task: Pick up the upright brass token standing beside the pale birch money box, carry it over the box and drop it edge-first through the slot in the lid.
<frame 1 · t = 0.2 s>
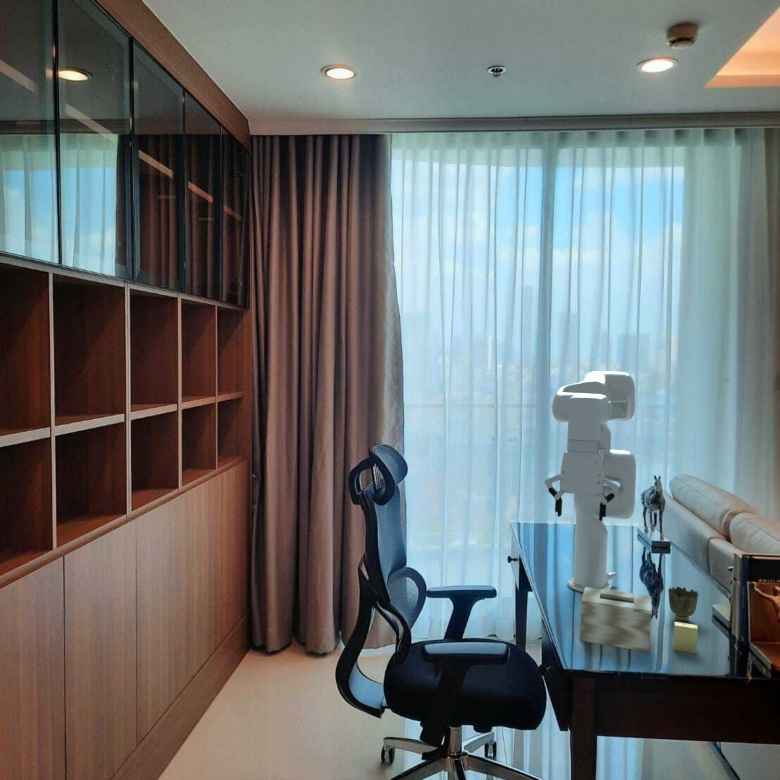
hand: (580, 517, 163), 31 cm above the table, tool pointing down, fingers open, 9 cm apart
money box: (614, 637, 168), on the table
cup: (681, 621, 182), on the table
brass token: (684, 649, 163), on the table
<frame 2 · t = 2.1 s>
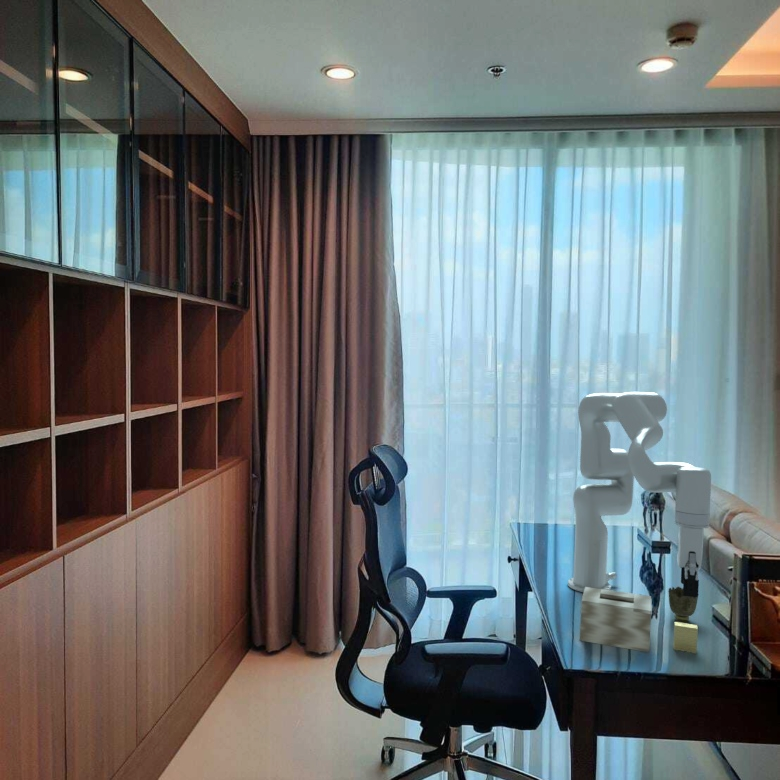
hand: (689, 589, 162), 15 cm above the table, tool pointing down, fingers open, 9 cm apart
nothing on the table moved.
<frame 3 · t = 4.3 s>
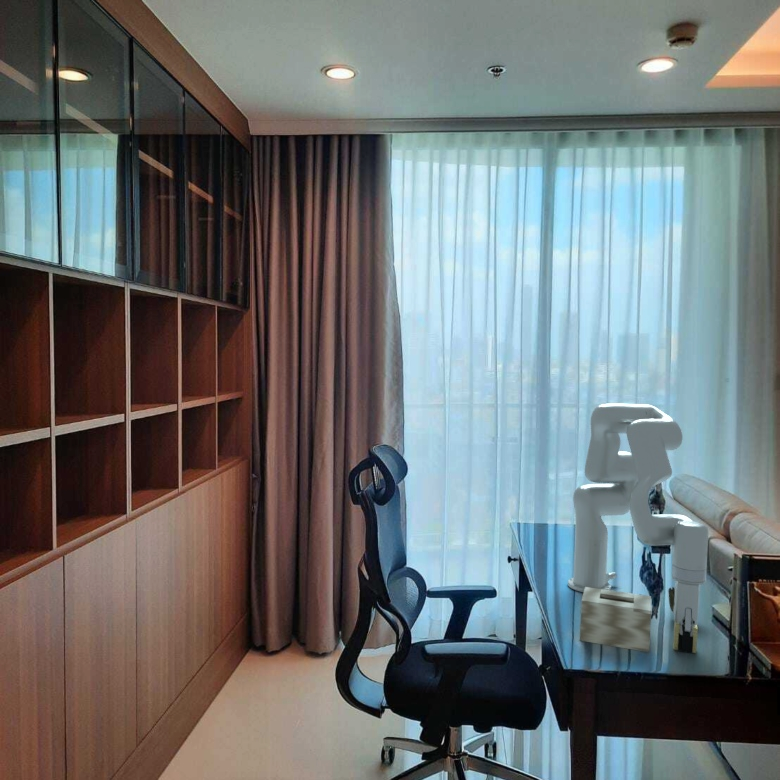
hand: (684, 648, 163), 0 cm above the table, tool pointing down, fingers closed on brass token, 2 cm apart
brass token: (684, 649, 163), on the table, touching gripper
everything else where it was.
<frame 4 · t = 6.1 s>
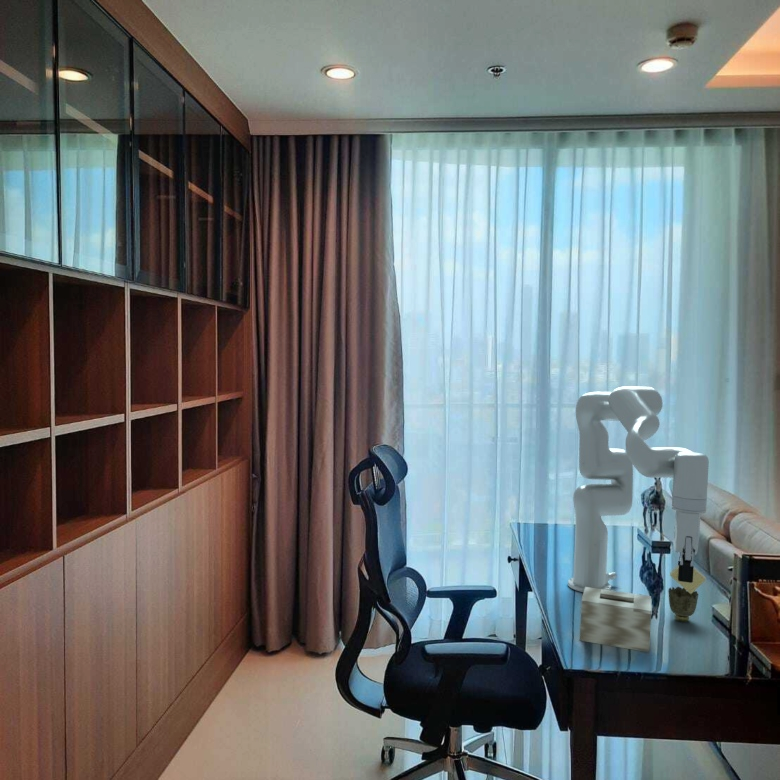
hand: (684, 579, 162), 17 cm above the table, tool pointing down, fingers closed on brass token
brass token: (698, 585, 161), point 16 cm above the table, tilted 51°, touching gripper
everything else where it was.
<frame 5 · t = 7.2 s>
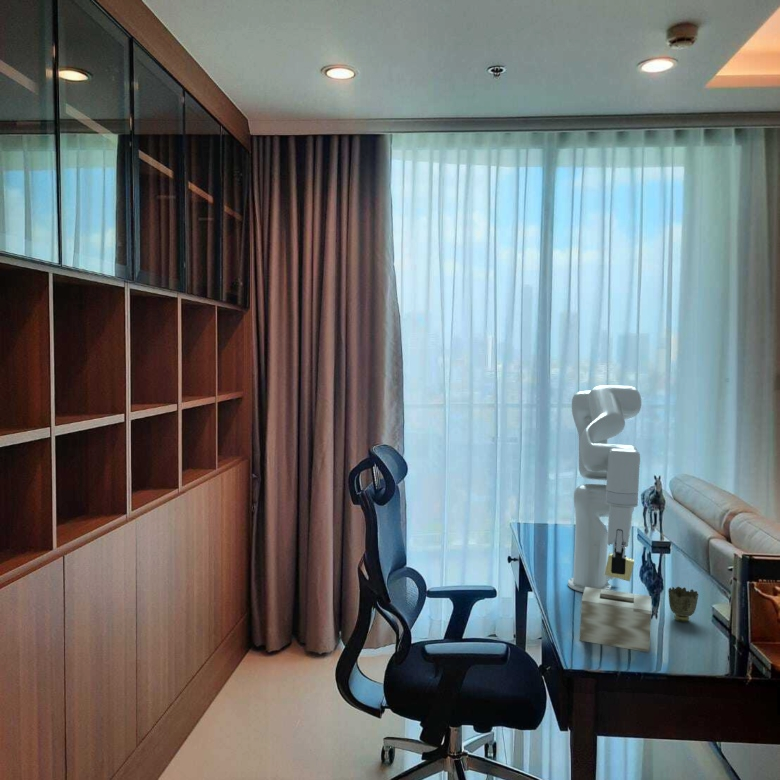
hand: (618, 571, 168), 17 cm above the table, tool pointing down, fingers closed on brass token
brass token: (632, 570, 166), point 17 cm above the table, tilted 81°, touching gripper
everything else where it was.
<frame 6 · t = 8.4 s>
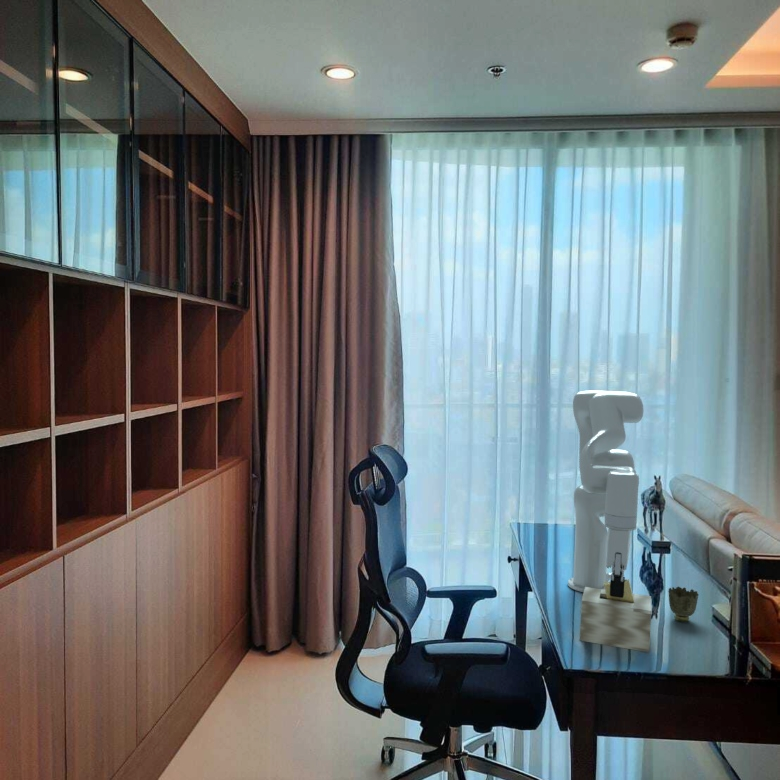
hand: (616, 593, 168), 11 cm above the table, tool pointing down, fingers closed
brass token: (631, 590, 167), point 12 cm above the table, tilted 106°
everything else where it was.
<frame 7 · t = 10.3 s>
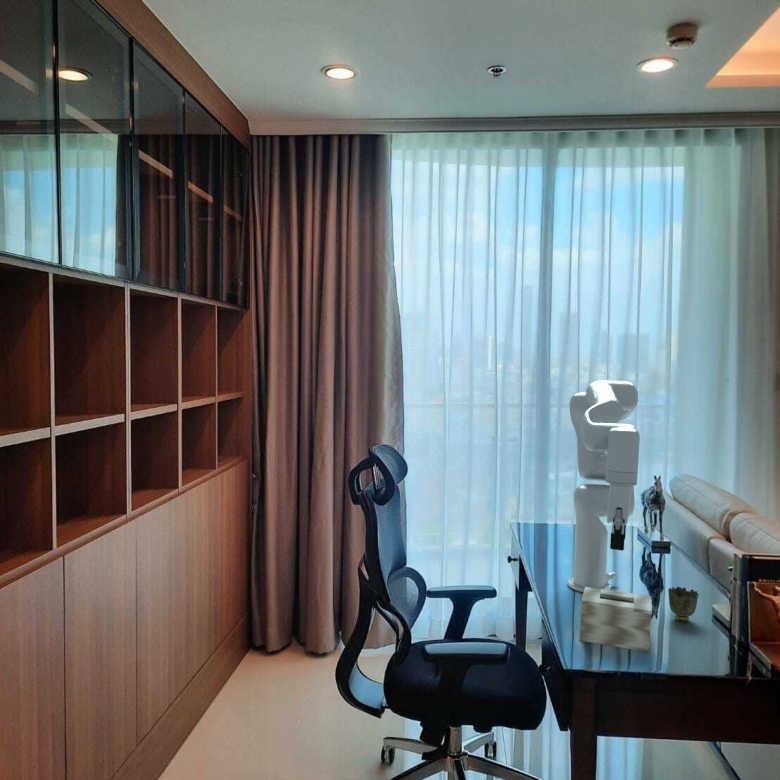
hand: (617, 544, 170), 23 cm above the table, tool pointing down, fingers open, 9 cm apart
brass token: (620, 634, 166), point 2 cm above the table, tilted 90°, touching money box
everything else where it was.
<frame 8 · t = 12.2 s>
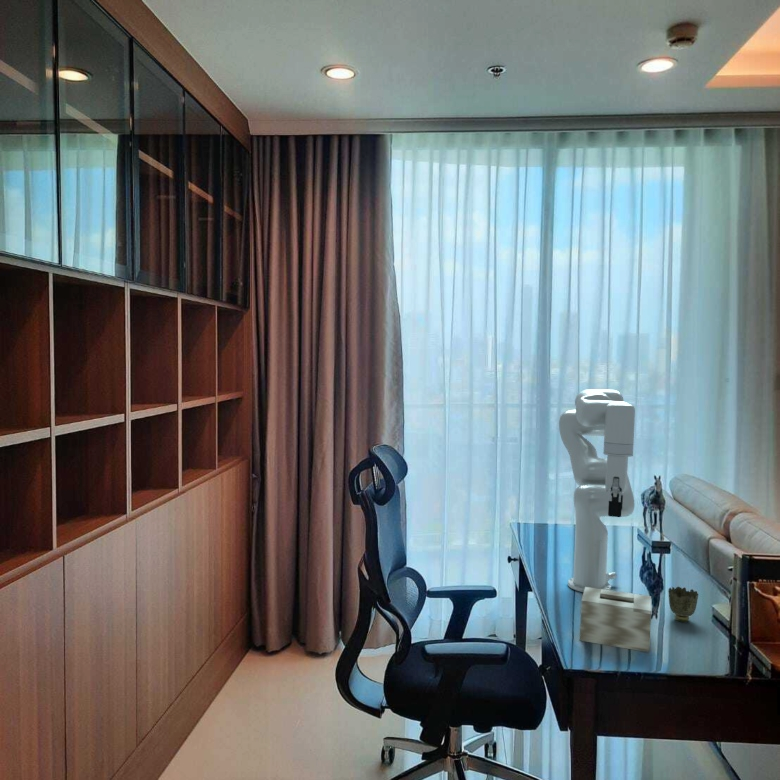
hand: (615, 512, 182), 28 cm above the table, tool pointing down, fingers open, 9 cm apart
nothing on the table moved.
at the end: brass token 2.6 cm from the money box (horizontally); brass token point 1.8 cm above the table; the gripper is holding nothing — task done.
